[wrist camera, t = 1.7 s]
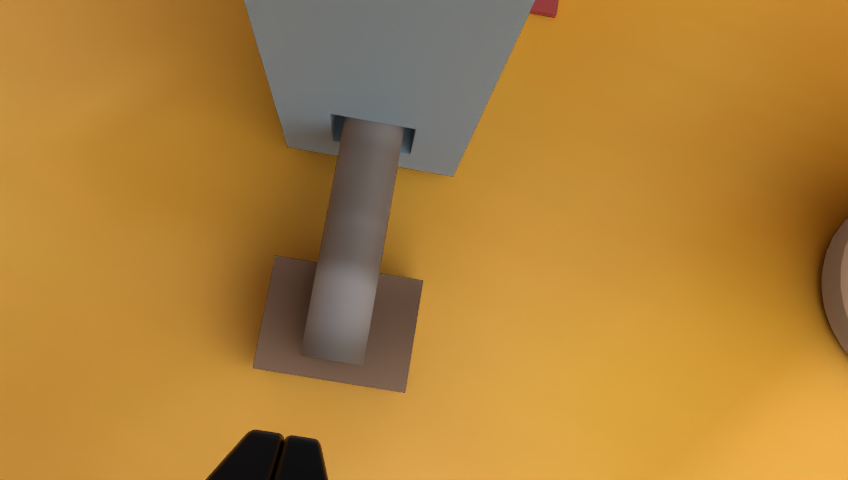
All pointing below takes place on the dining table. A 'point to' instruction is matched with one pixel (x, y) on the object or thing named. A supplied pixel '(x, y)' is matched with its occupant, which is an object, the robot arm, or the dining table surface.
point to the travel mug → (837, 284)
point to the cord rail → (349, 276)
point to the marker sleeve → (386, 69)
